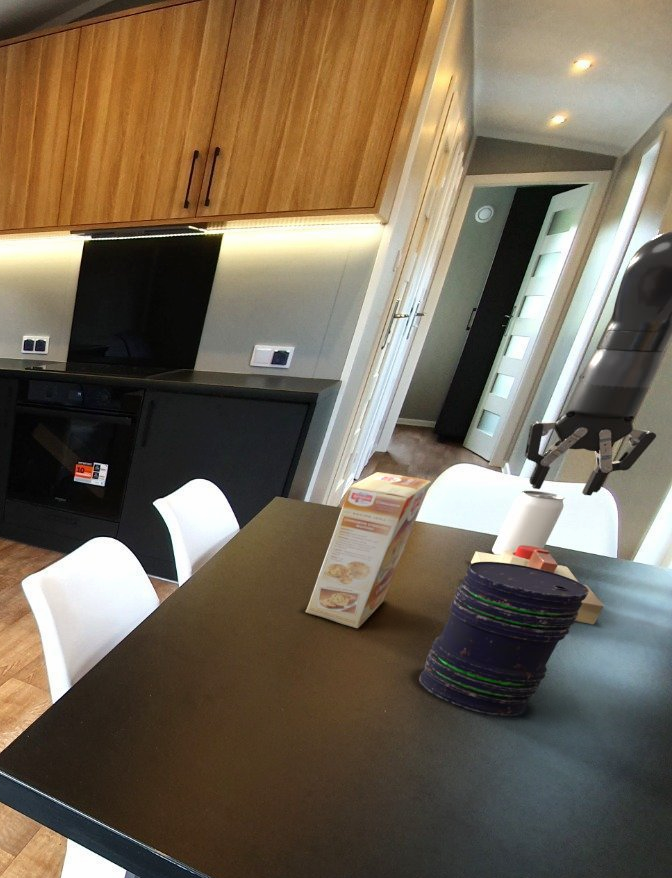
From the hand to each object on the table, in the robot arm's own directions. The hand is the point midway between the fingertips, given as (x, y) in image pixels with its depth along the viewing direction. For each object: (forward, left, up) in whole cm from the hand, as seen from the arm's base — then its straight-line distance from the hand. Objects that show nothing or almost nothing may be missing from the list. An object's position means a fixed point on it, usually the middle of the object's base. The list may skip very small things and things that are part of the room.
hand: (561, 490), depth 103 cm
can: (-1, -14, -16) cm, 21 cm away
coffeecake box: (+24, +34, -16) cm, 44 cm away
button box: (0, 0, -15) cm, 15 cm away
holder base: (+1, +13, -15) cm, 20 cm away
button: (0, 0, -12) cm, 12 cm away
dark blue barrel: (+11, +54, -16) cm, 57 cm away
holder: (+1, +13, -12) cm, 18 cm away
